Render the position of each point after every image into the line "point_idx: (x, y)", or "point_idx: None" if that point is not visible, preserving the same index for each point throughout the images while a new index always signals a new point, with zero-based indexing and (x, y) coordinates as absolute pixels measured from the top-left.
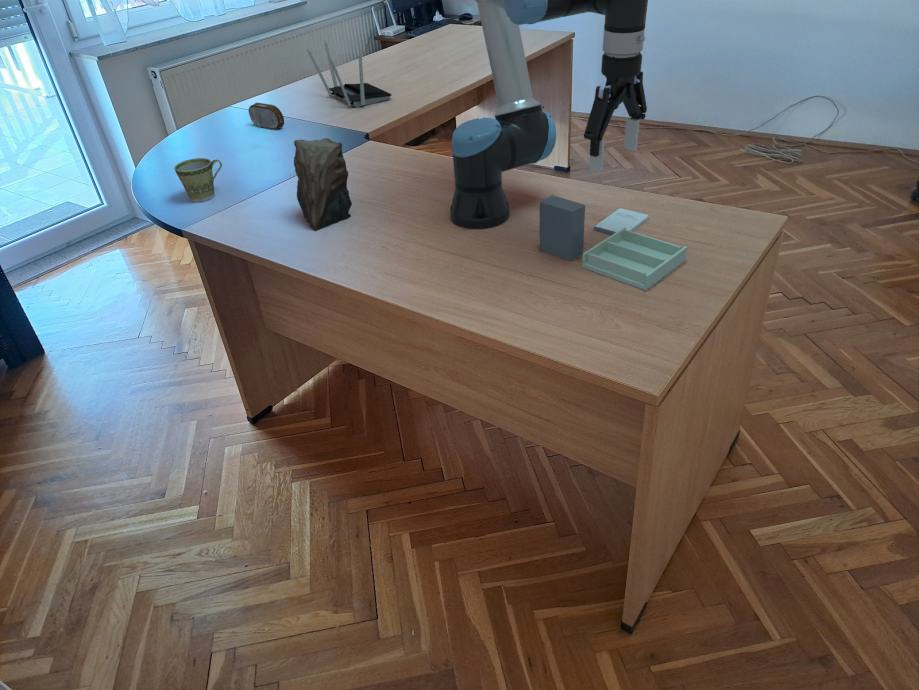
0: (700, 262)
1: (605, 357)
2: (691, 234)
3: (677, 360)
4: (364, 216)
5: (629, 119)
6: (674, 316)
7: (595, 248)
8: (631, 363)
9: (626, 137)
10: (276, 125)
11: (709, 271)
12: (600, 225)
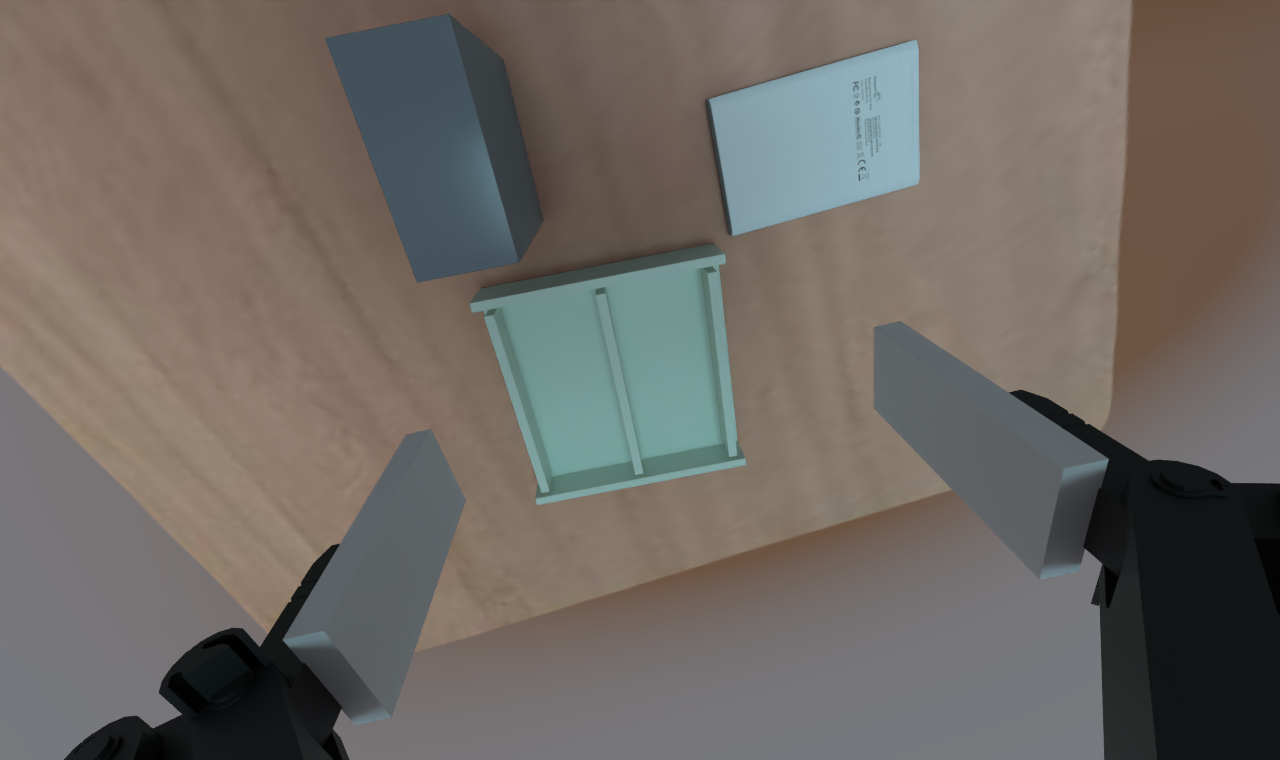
0: (753, 465)
1: (289, 589)
2: None
3: None
4: None
5: (1053, 500)
6: (515, 570)
7: (535, 300)
8: None
9: (924, 382)
10: None
11: (729, 501)
12: (730, 116)
